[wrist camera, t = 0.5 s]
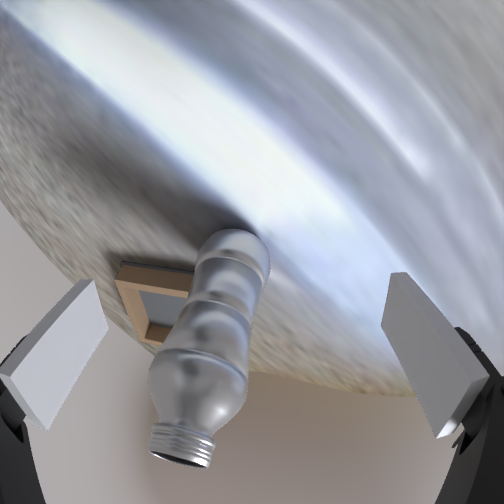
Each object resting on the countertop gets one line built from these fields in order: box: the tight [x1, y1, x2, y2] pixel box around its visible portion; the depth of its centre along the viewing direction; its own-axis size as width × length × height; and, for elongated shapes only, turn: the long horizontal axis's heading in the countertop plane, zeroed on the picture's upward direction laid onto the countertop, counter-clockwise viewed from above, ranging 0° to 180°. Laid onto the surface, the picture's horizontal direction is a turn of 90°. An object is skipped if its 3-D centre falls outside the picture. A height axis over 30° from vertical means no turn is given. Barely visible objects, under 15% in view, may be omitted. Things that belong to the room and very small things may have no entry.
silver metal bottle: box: [148, 229, 271, 469], centre depth 21 cm, size 6×7×20 cm
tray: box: [114, 262, 194, 346], centre depth 35 cm, size 12×12×3 cm
